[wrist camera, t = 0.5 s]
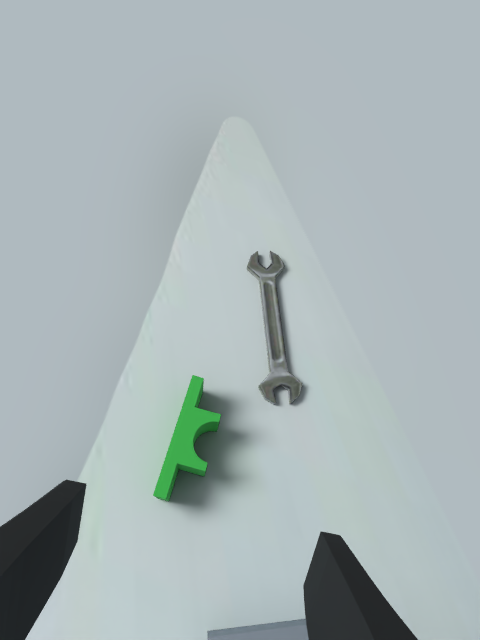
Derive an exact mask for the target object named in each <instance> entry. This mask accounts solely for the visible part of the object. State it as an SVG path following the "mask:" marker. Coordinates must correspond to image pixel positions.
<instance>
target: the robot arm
mask: <svg viewBox="0 0 480 640" xmlns="http://www.w3.org/2000/svg"><path fill="white" fill-rule="evenodd" d="M85 490H86V484H85V483H80V482H75V481H70V480H65V481H63V482H62V483H60V484H59V485H58V486H56V487H55V488H54V489H52V490H51V491H50V492H48V493H47V494H46V495H44V496H43V497H42V498H40V499H39V500H38V501H36V502H35V503H33V504H32V505H31V506H29V507H28V508H27V509H25V510H24V511H23V512H21V513H19V514H18V515H17V516H15V517H14V518H12V519H11V520H9V521H8V522H7V523H5V524H4V525H2V526H1V527H0V640H25V638H26V637H27V635H28V633H29V632H30V630H31V628H32V626H33V625H34V623H35V621H36V620H37V618H38V616H39V615H40V613H41V611H42V609H43V608H44V606H45V604H46V603H47V601H48V599H49V597H50V596H51V594H52V592H53V590H54V589H55V587H56V585H57V583H58V582H59V580H60V578H61V576H62V574H63V572H64V570H65V568H66V565H67V563H68V561H69V559H70V557H71V554H72V552H73V550H74V548H75V545H76V543H77V540H78V534H79V527H80V521H81V515H82V509H83V502H84V496H85ZM304 602H305V615H306V626H307V632H308V638H309V640H418V639H417V638H416V637H415V636H414V634H413V633H412V632H411V631H410V629H409V628H408V627H407V626H406V624H405V623H404V622H403V621H402V619H401V618H400V617H399V616H398V614H397V613H396V612H395V611H394V609H393V608H392V607H391V605H390V604H389V603H388V601H387V600H386V599H385V597H384V596H383V595H382V593H381V592H380V591H379V589H378V588H377V587H376V585H375V584H374V582H373V581H372V580H371V578H370V577H369V576H368V574H367V573H366V571H365V570H364V568H363V567H362V566H361V564H360V563H359V561H358V560H357V558H356V557H355V556H354V554H353V553H352V551H351V550H350V548H349V547H348V545H347V544H346V543H345V541H344V540H343V539H342V537H341V536H340V535H336V534H331V533H326V532H320V536H319V539H318V542H317V545H316V548H315V551H314V554H313V558H312V561H311V564H310V567H309V570H308V573H307V576H306V580H305V583H304Z"/></svg>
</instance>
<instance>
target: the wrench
mask: <svg viewBox="0 0 480 640" xmlns="http://www.w3.org/2000/svg"><path fill="white" fill-rule="evenodd" d="M269 255H270V260H271V265H270V266H269V267H268V268H267V269H266V268H265V267H263V266H262V265H261V264H260V263H259V260H258V251H257V252H256V253H254V254H253V255H251V257H250V260H249V263H248V266H247V270H248V271H249V272H250V273H251V274H252V275H253V276H255V277H256V278H257V279H258V280H259V285H260V293H261V302H262V311H263V320H264V329H265V337H266V346H267V355H268V364H269V372H270V373H269V374H268V376H267V377H266V378H265V379H264V380H263V382H262V383H261V384H260V385H259V387H258V388H259V390H260V392H261V394H262V395H263V397H264V399H265V400H267V401H268V402H270V403H272V404H273V405H275V404H276V401H275V396H274V390H273V389H274V388H276V387H278V386H280V385H281V386H282V387H283V388H285V389H286V390H288V393H289V404H290V403H292V402H293V401H294V400H295V399H297V398H298V397H299V395H300V391H301V387H302V383H301V382H300V381H299V380H298V379H297V378H295V377H294V376H293V375H292V374H291V373H290V372H289V371H288V368H287V361H286V354H285V346H284V339H283V332H282V324H281V317H280V310H279V302H278V295H277V288H276V280H275V278H276V277H277V276H278V275H279V274H280V273H281V271H282V270H283V269H284V264H283V262H282V261H281V259H280V257H279V256H278V255H276V254H275V253H273V252H271V251H270V254H269Z"/></svg>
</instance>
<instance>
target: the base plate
mask: <svg viewBox="0 0 480 640" xmlns="http://www.w3.org/2000/svg"><path fill="white" fill-rule="evenodd" d="M208 640H309V638H308V632H307V626H306V619H300V620H293V621H285V622H277V623H269V624H261V625H253V626H245V627H237V628H229V629H221V630H213V631H208Z"/></svg>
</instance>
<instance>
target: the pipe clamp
mask: <svg viewBox="0 0 480 640" xmlns="http://www.w3.org/2000/svg"><path fill="white" fill-rule="evenodd" d="M203 380H204V378H201V377H197V376H194V375H193V376H192V379H191V382H190V385H189V388H188V391H187V394H186V397H185V400H184V403H183V406H182V409H181V412H180V415H179V418H178V421H177V424H176V427H175V430H174V434H173V437H172V440H171V443H170V446H169V449H168V452H167V455H166V458H165V461H164V464H163V467H162V470H161V473H160V476H159V479H158V482H157V485H156V488H155V491H154V494H153V496H155V497H156V498H158V499H162V500H165V501H169V499H170V496H171V493H172V490H173V486H174V483H175V480H176V477H177V474H178V470H179V469H180V470H183V471H187V472H190V473H194V474H197V475H201V476H205V472H206V469H207V464H208V463H207V462H205V461H203V460H201V459H200V458H199V457H198V456H197V454H196V453H195V451H194V444H195V441H196V440H197V438H198V437H199V436H200V435H201V434H203V433H205V432H208V431H216V432H217V429H218V425H219V421H220V417H221V414H218V413H214V412H210V411H207V410H203V409H200V408H198V406H199V402H200V399H201V396H202V393H203Z"/></svg>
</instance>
